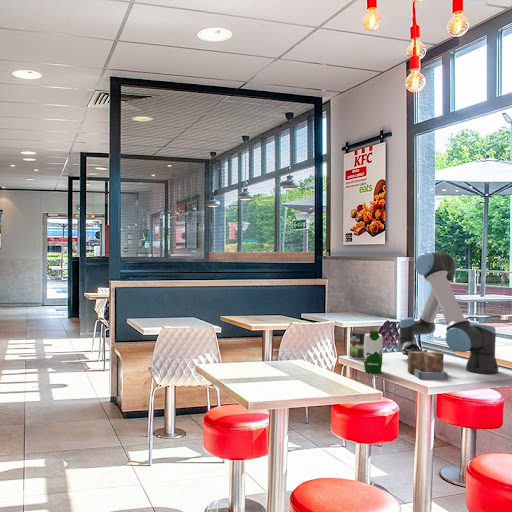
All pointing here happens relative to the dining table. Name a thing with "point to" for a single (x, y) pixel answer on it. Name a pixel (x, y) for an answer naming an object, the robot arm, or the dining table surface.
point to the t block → (425, 361)
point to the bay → (431, 374)
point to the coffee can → (357, 344)
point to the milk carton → (373, 352)
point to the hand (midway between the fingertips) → (423, 357)
